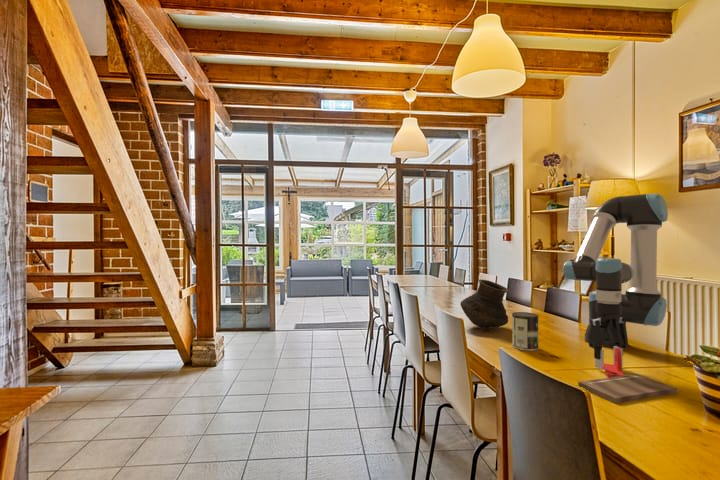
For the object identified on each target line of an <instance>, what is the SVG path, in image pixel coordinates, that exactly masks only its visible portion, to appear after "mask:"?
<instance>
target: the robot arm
mask: <svg viewBox="0 0 720 480" xmlns="http://www.w3.org/2000/svg"><path fill="white" fill-rule="evenodd" d="M668 216H669V213H668V207H667V203H666V199H665V198H664V196H663V195H661V194H660V193H646V194H645V193H643V194H633V195H622V196H615V197H612V198H609V199H607V200H606V201H604V202H603V203H602V204H600V205H598V207H597V208H596V209H595V210H594V212H593V213H592V215H591V216H590V225H589V227H588V229H587V232H586V234H585V235H584V238H583V240H582V242H581V245H580V246H579V249H578V251H577V253H576V255H575V257H574V259H573V260H566V261H565V262H564V264H563V266H562V273H563V276H564V278H565V279H567V280H571V281H572V280H573V281H583V282H584V281H587V282H595V290H593V291H591V292H590V293H589V295H588V325H587V328H586V330H585V332H584V337H583V338H584V341H585V342H587V343H588V347H589V348H591V349H593V351H594V352H593V358H594V367H595V368H597V369H599V370H604V363H605V361H604V360H605V353H604V350H603V347H608V348H609V347H610V348H613V365H615V348H620V350H621V357H622V368H623V362H624V361H623V358H624V357H623V356H624V349H627V347H628V345H629V340H628V339H629V338H628V331H627V330H628V329H627V325H626V324H627V323H629V324H635V325H644V326H651V327H652V326H653V327H658V326H661V324H662V323H663V321H664V319H665V317H666V312H667V308H668V307H667V305H668V304H667V299H666V298H665V297H662V293H661V291H659V290H658V289H657V269H658V267H657V266H658V265H657V262H658V261H657V258H658V256H657V255H658V254H657V253H658V230H659V229H660V228H662V227H663V223H665V222H667V221H668ZM617 224H626V227H627V228H628V229H629V230H630V264H628V263H626V262H622V259H620V258H615V257H614V258H611V257H610V258H609V257H605V258H604V257H601V258H599V257H600V254H601V253H602V250H603V248H604V246H605V244H606V240H607V239H608V236H609V235H610V232H611V230H612V229H613V228H615V227H616V225H617ZM628 282H629V283H630V284H629V287H628V288H627V289H625V294H622V289H623V287H622V286H623V285H622V284H625V283H628Z"/></svg>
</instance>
